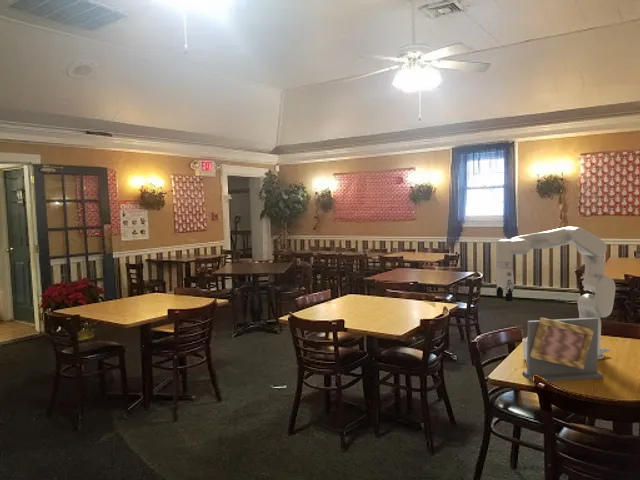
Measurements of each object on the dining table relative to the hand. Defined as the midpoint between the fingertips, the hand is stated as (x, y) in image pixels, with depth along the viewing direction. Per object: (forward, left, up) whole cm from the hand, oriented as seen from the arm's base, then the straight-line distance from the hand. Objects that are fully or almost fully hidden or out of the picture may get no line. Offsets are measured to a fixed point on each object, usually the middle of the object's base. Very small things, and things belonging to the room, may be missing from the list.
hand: (504, 299), depth 243 cm
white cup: (-14, 0, -32) cm, 34 cm away
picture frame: (-12, +27, -24) cm, 38 cm away
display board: (-16, +24, -31) cm, 42 cm away
